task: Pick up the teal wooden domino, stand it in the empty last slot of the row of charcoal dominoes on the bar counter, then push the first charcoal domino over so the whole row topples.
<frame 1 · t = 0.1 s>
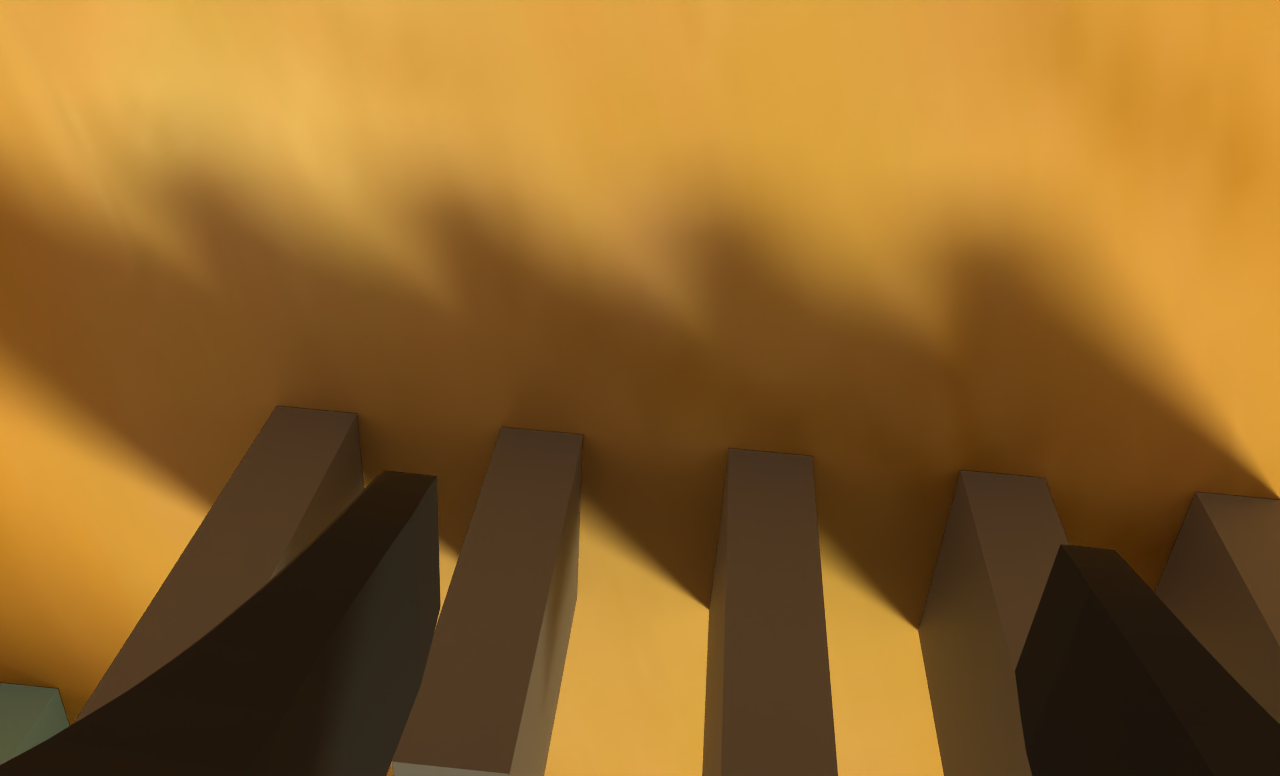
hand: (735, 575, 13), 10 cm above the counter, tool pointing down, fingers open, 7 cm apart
domino 1: (1201, 579, 25), on the counter
domino 4: (540, 516, 26), on the counter
domino 2: (978, 558, 26), on the counter
domino 5: (326, 495, 26), on the counter
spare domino: (45, 744, 32), on the counter
domino 3: (758, 537, 26), on the counter
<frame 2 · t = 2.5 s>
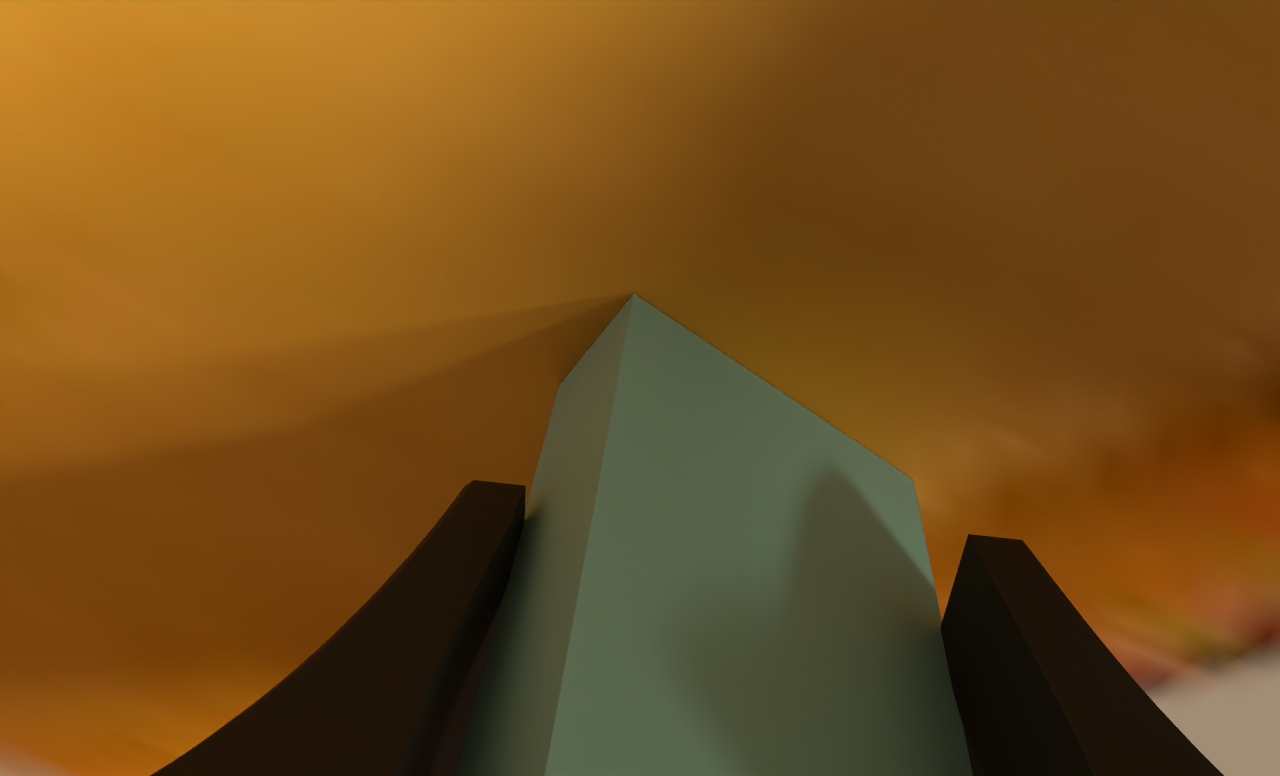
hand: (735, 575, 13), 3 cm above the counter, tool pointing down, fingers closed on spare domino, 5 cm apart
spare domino: (737, 433, 16), on the counter, touching gripper
when the fingers open (4 cm above the counter, at t = 6.5 s): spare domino stays where it is, on the counter.
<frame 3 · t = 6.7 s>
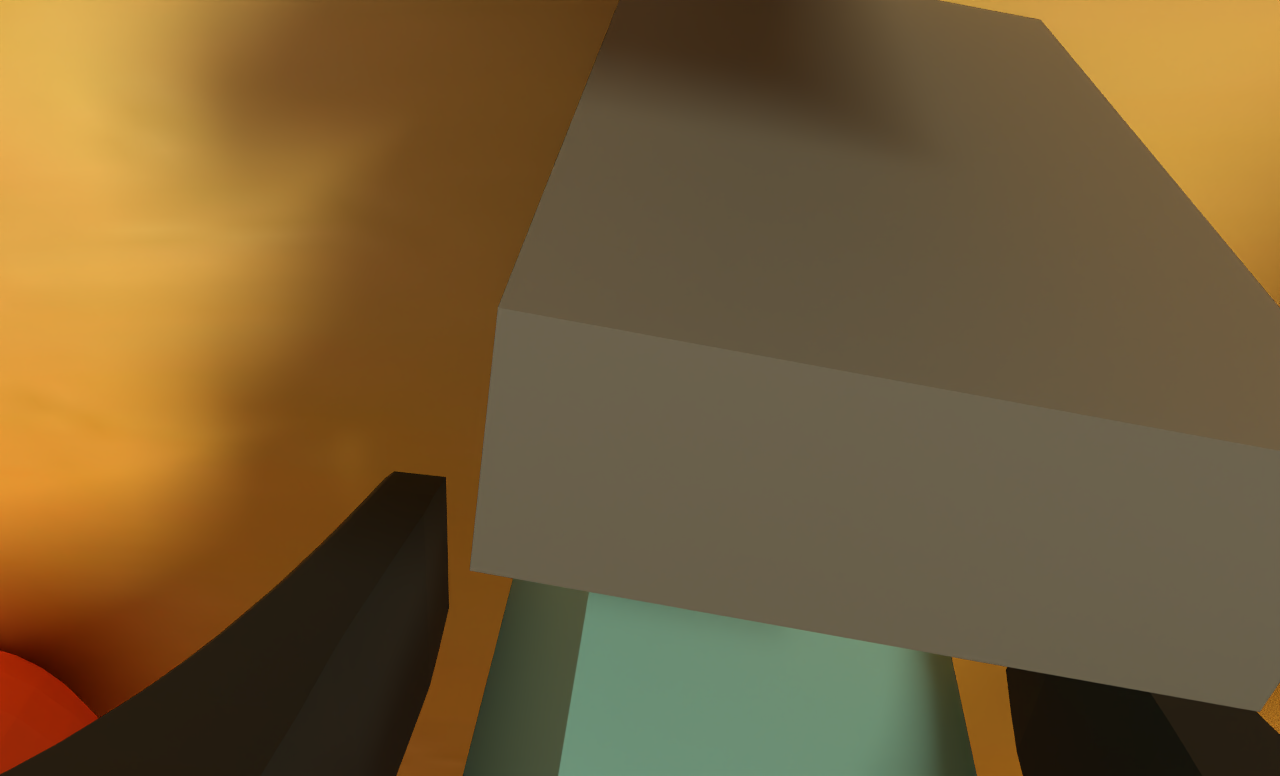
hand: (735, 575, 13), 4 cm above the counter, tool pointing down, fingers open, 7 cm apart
domino 5: (822, 57, 14), on the counter
clementine: (21, 703, 22), on the counter
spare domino: (740, 397, 17), on the counter
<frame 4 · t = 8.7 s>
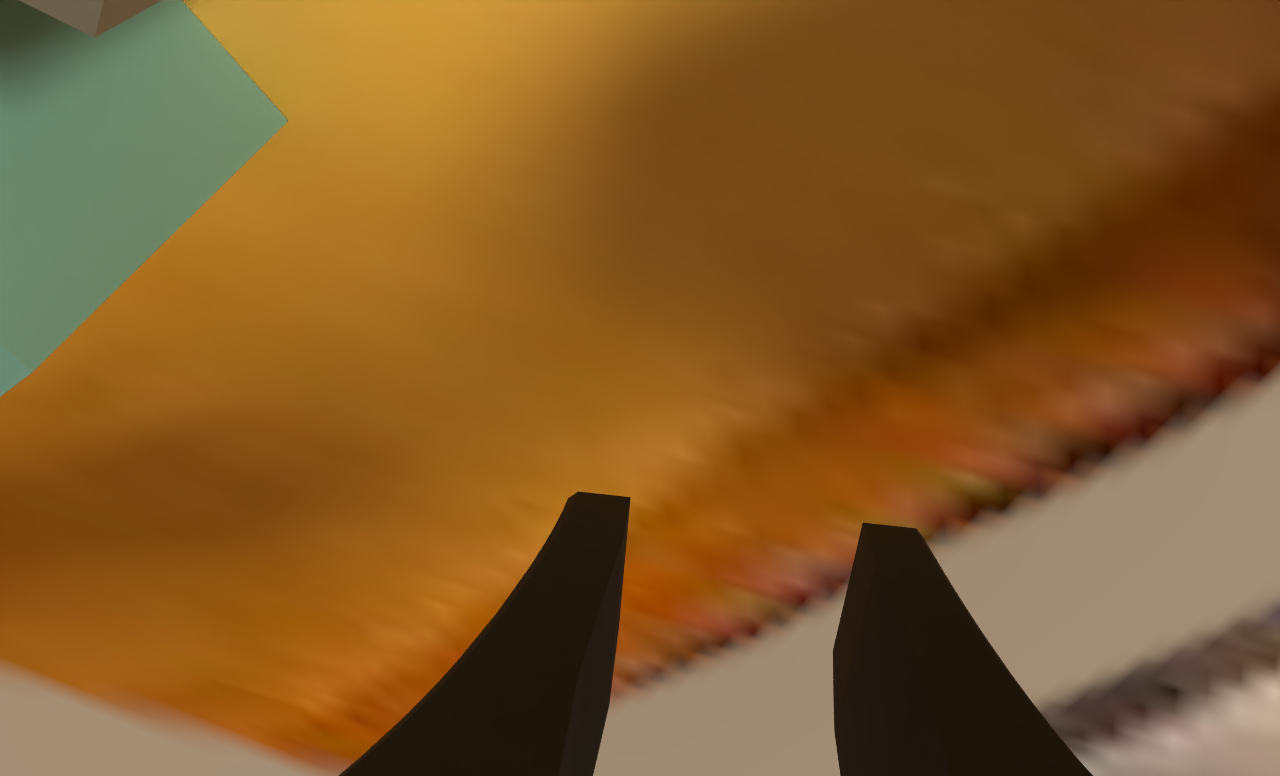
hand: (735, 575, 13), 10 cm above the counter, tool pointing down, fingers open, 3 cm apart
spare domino: (160, 42, 21), on the counter
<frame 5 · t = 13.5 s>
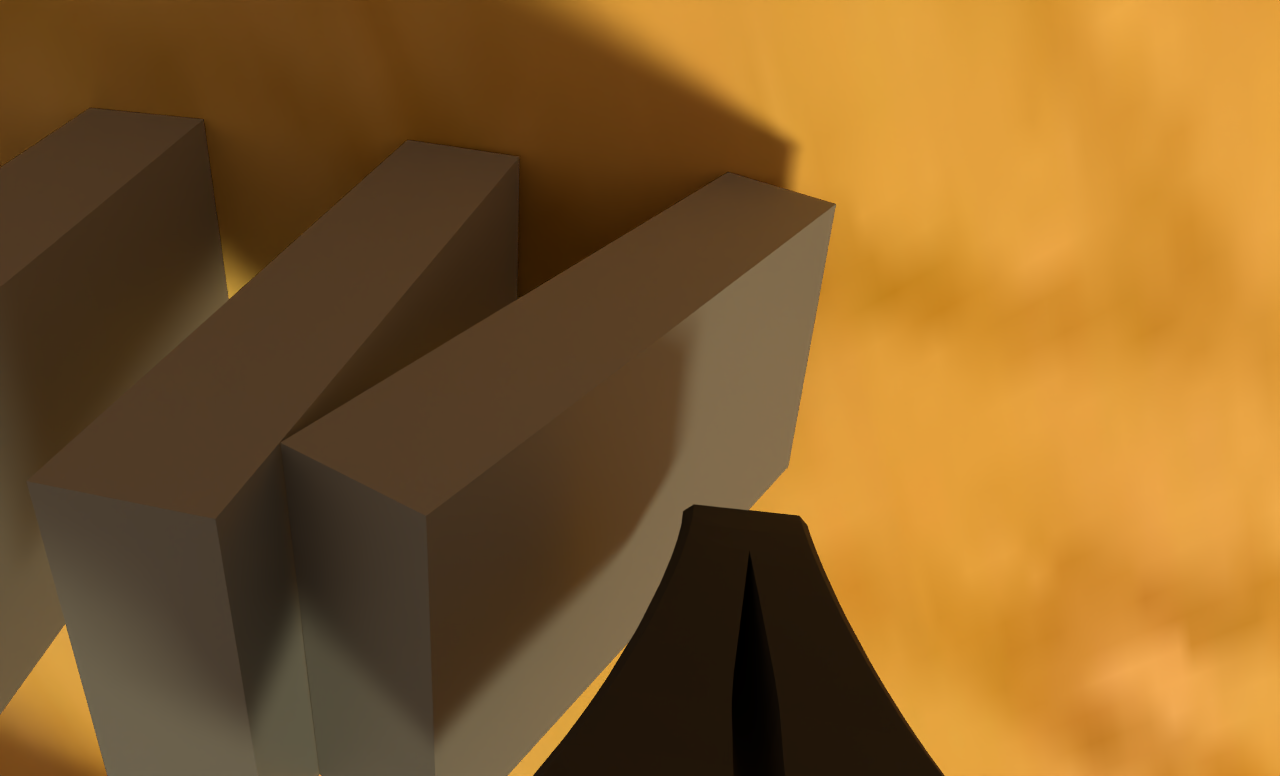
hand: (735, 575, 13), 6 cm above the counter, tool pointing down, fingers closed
domino 1: (759, 326, 18), on the counter, tilted 27°
domino 2: (464, 286, 19), on the counter, tilted 7°
domino 3: (169, 252, 19), on the counter
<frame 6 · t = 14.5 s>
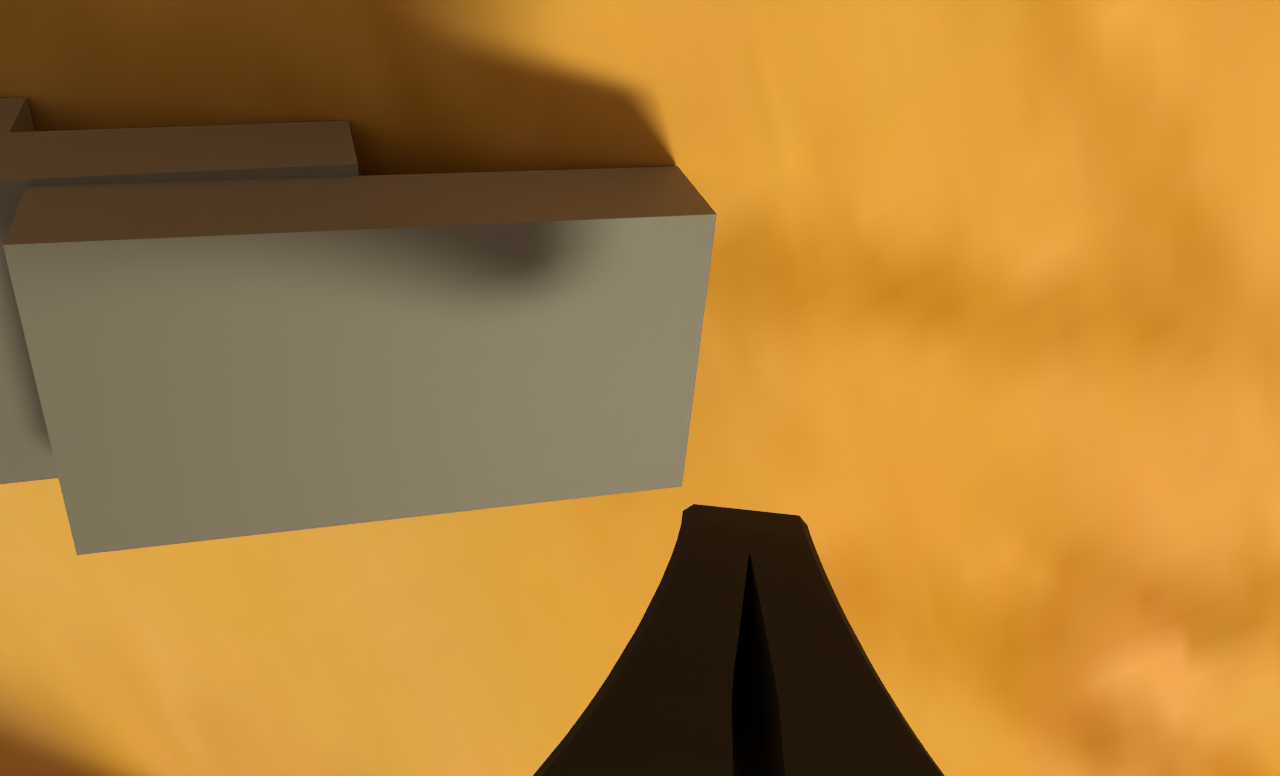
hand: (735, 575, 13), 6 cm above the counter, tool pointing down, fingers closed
domino 1: (679, 331, 18), point 1 cm above the counter, tilted 69°, touching domino 2
domino 2: (363, 286, 18), point 1 cm above the counter, tilted 69°, touching domino 1, domino 3
domino 3: (55, 261, 18), point 1 cm above the counter, tilted 69°, touching domino 2, domino 4
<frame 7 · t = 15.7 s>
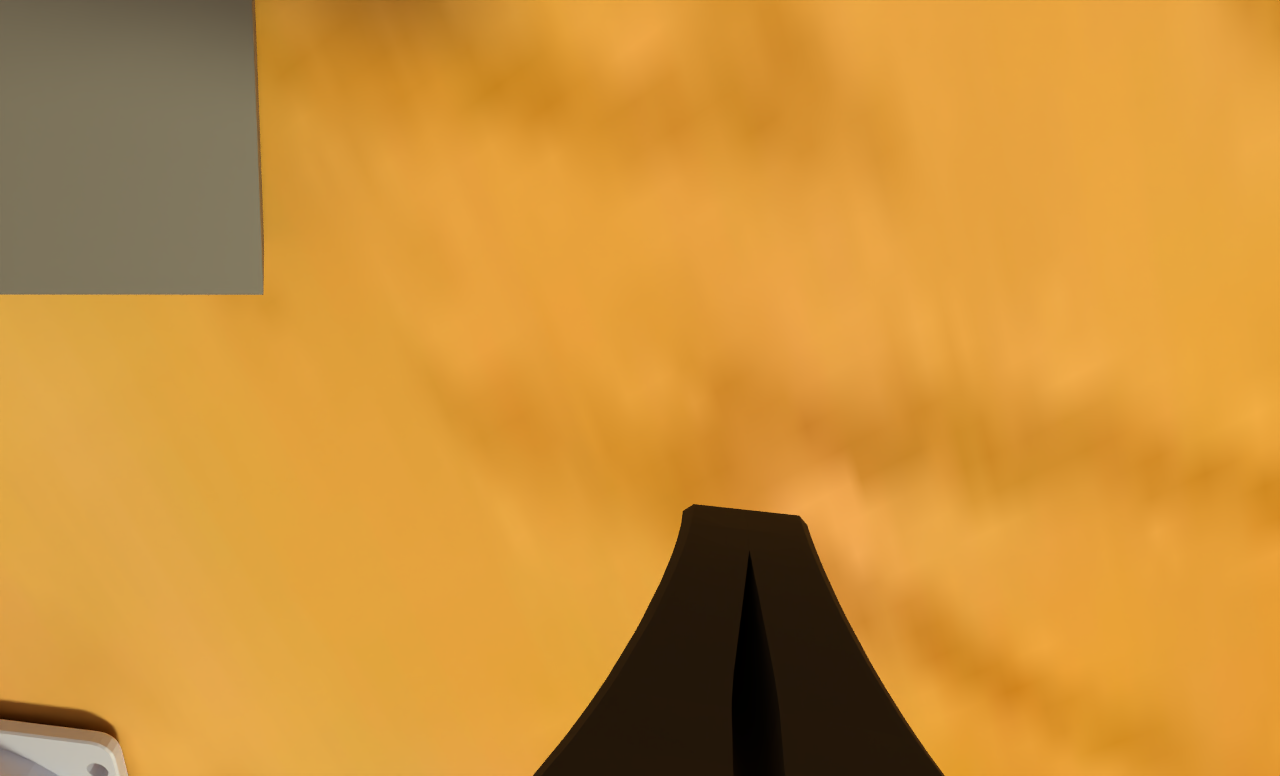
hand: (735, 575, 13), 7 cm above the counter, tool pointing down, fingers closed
domino 1: (258, 132, 18), point 1 cm above the counter, tilted 70°, touching domino 2
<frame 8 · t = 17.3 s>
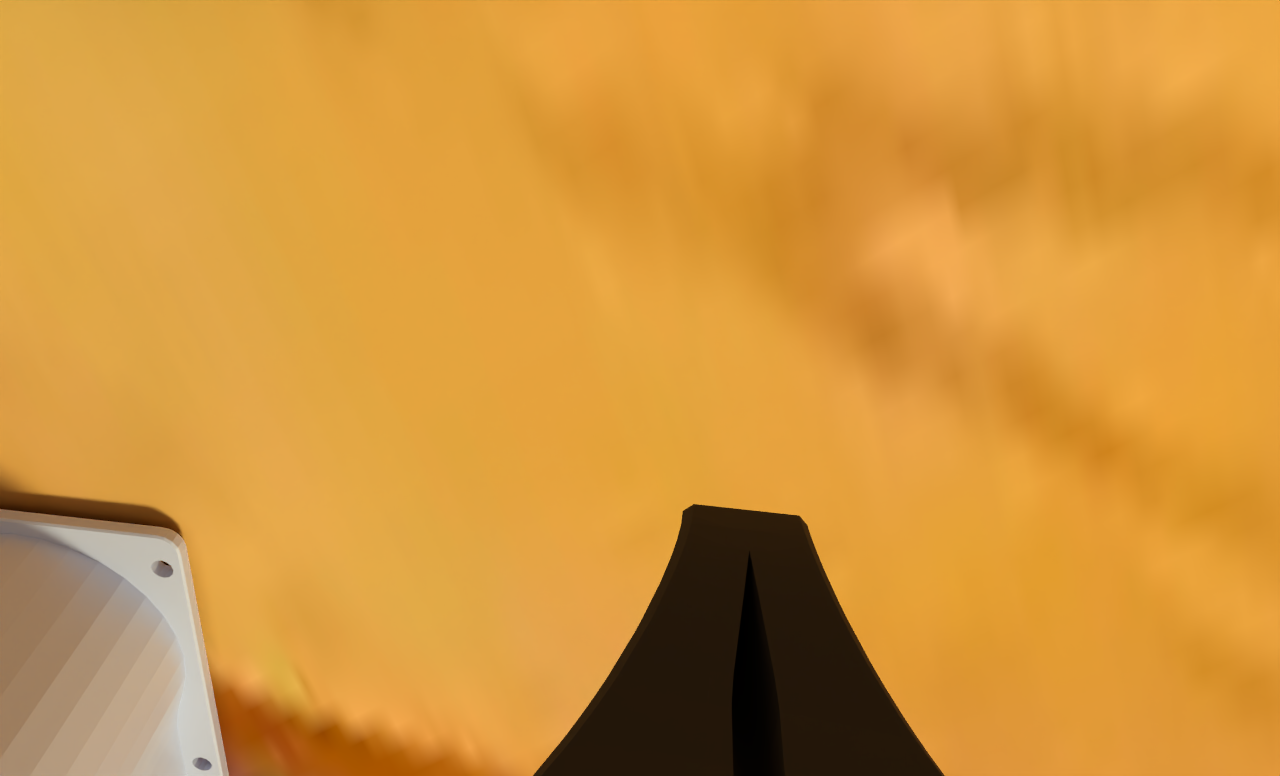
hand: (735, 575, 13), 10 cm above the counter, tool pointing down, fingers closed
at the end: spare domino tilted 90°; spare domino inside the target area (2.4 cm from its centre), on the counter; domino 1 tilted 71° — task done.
